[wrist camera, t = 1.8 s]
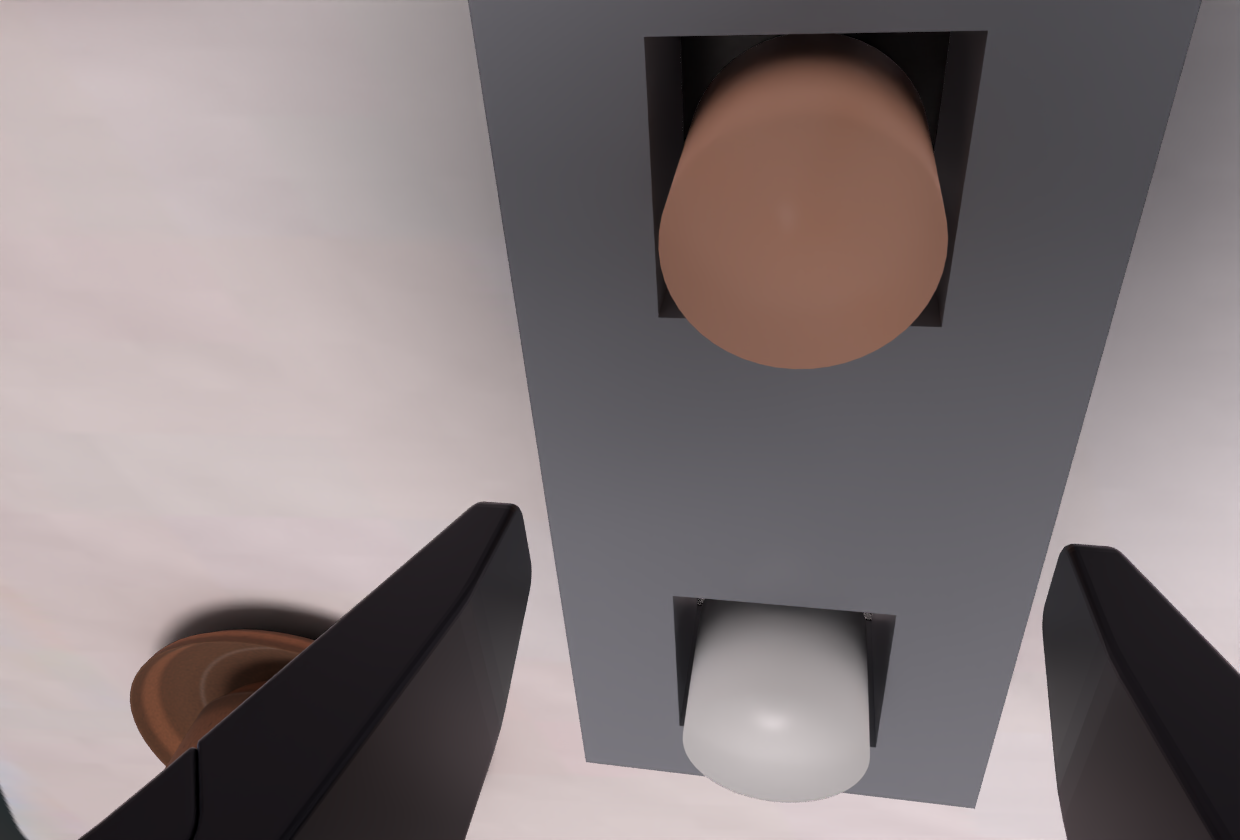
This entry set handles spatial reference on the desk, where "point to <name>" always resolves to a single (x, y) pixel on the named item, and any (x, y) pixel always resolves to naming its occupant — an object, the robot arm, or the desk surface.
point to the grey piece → (779, 700)
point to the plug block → (821, 397)
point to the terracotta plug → (805, 205)
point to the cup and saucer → (204, 684)
